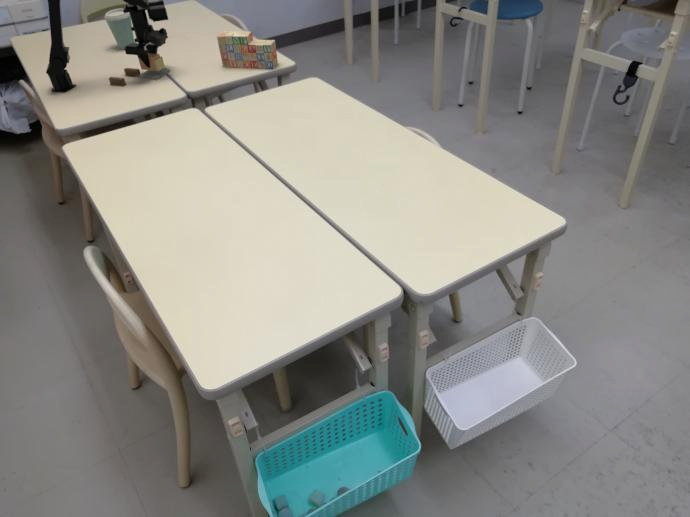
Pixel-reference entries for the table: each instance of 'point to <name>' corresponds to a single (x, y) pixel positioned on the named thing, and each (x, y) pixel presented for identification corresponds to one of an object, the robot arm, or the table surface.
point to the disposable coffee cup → (120, 27)
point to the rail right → (132, 72)
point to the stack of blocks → (246, 51)
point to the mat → (154, 74)
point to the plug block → (153, 62)
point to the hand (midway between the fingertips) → (152, 65)
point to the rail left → (117, 81)
